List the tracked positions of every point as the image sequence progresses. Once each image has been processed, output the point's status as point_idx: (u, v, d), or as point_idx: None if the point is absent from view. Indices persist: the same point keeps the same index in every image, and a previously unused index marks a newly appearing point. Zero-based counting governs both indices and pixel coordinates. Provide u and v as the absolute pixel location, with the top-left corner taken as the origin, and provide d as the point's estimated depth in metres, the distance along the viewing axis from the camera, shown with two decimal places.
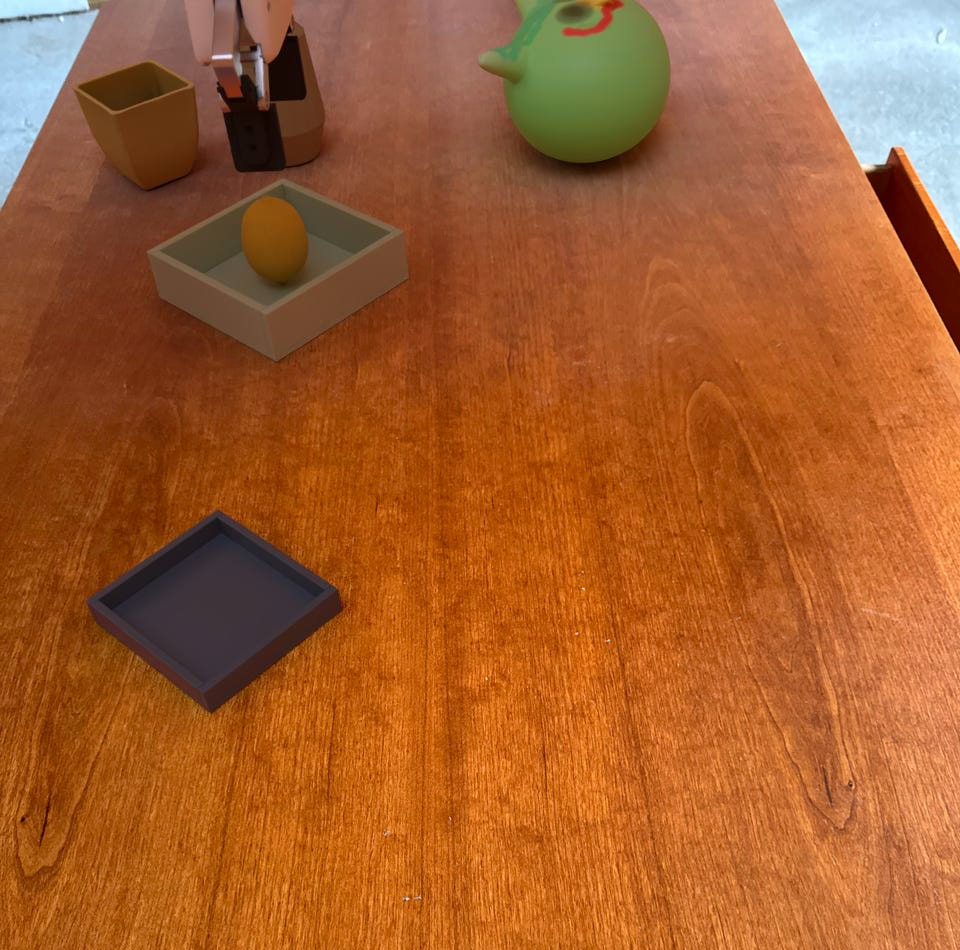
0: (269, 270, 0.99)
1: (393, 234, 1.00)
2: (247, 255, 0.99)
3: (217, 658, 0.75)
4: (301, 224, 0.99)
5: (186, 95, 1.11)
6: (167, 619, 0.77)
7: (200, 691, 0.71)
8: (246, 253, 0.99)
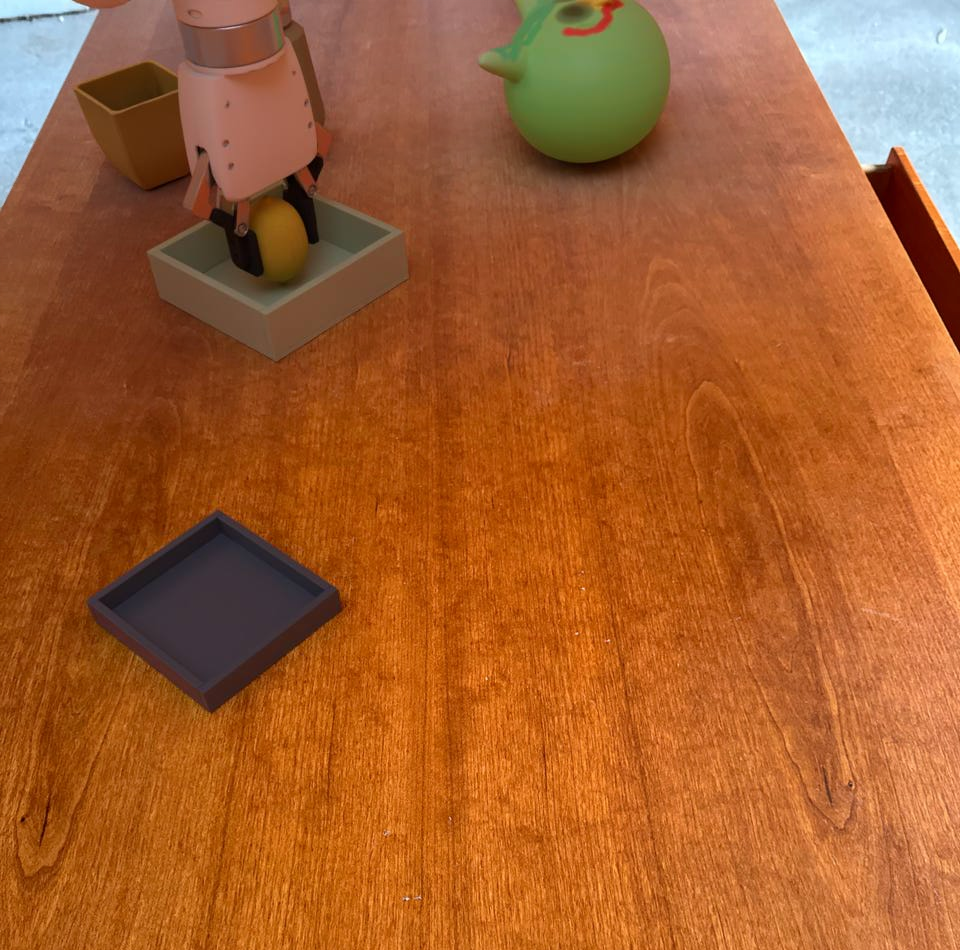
0: (269, 270, 0.99)
1: (393, 234, 1.00)
2: None
3: (217, 658, 0.75)
4: (301, 224, 0.99)
5: None
6: (167, 619, 0.77)
7: (200, 691, 0.71)
8: None
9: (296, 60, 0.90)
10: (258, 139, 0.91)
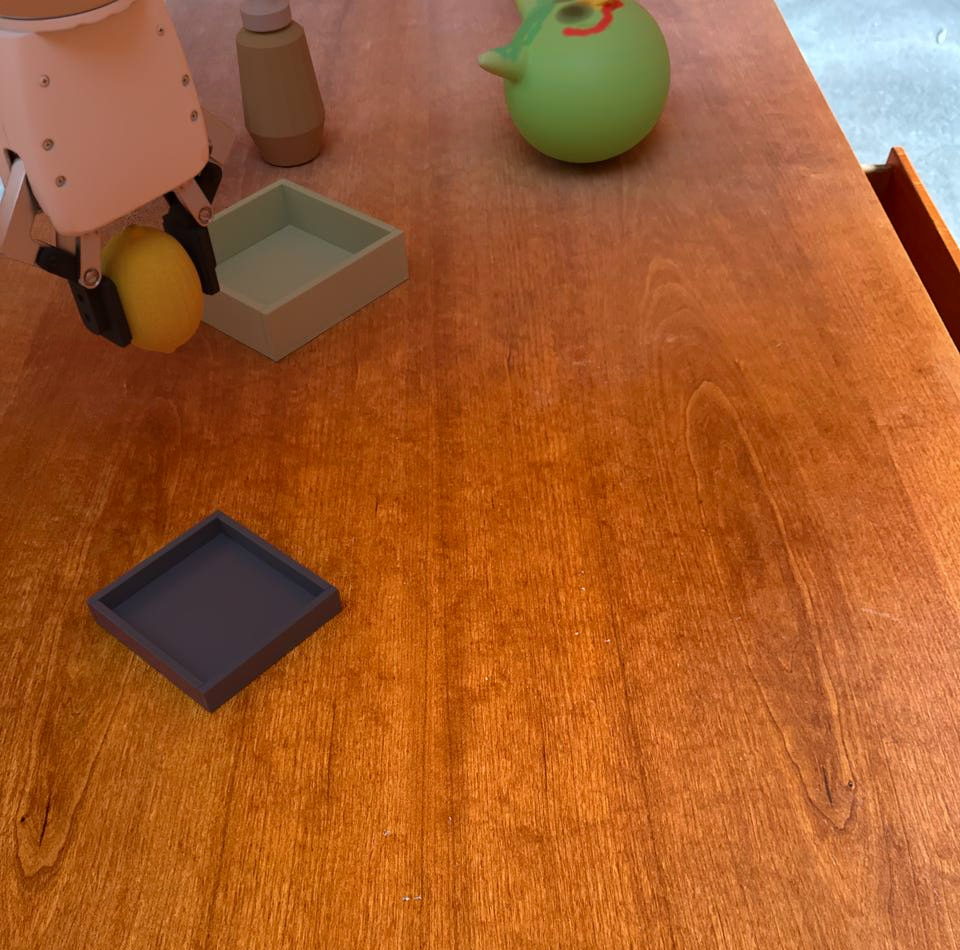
0: (142, 337, 0.65)
1: (393, 234, 1.00)
2: None
3: (217, 658, 0.75)
4: (189, 267, 0.65)
5: None
6: (167, 619, 0.77)
7: (200, 691, 0.71)
8: None
9: (164, 11, 0.57)
10: (105, 138, 0.57)
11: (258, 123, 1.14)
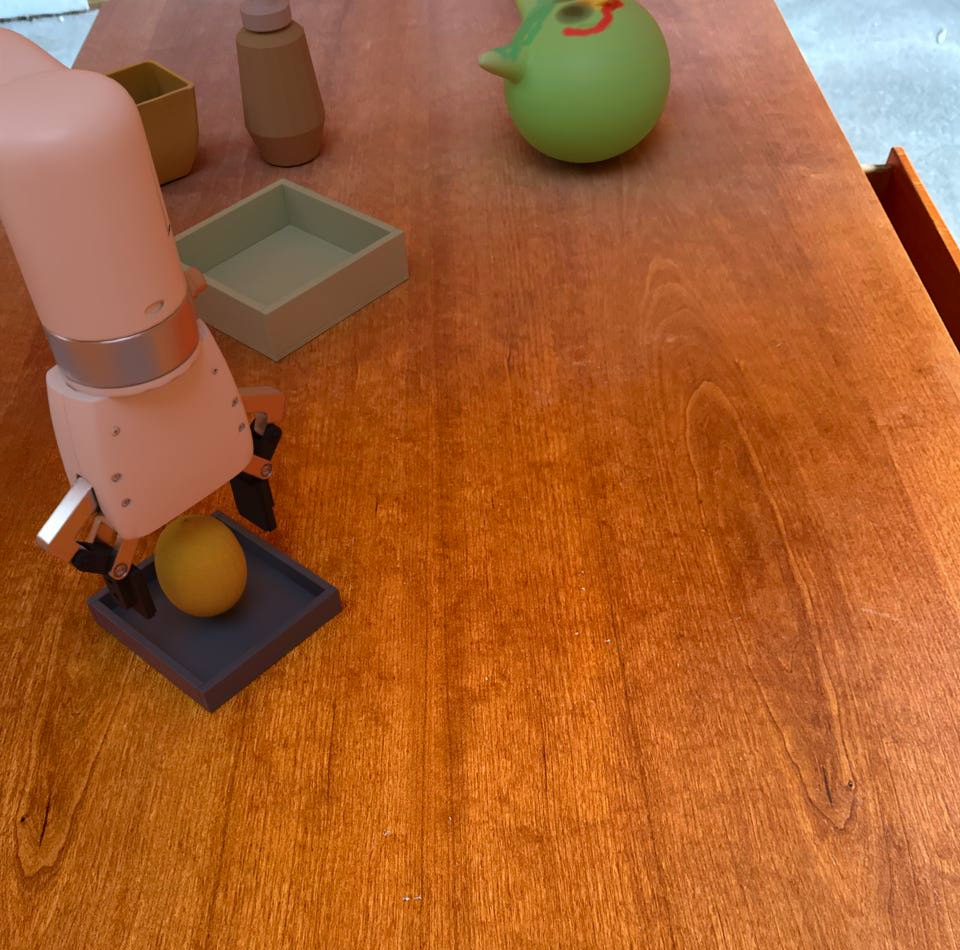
0: (193, 610, 0.74)
1: (393, 234, 1.00)
2: (163, 590, 0.74)
3: (217, 658, 0.75)
4: (236, 550, 0.73)
5: (186, 95, 1.11)
6: (167, 619, 0.77)
7: (200, 691, 0.71)
8: (162, 587, 0.74)
9: (218, 354, 0.64)
10: (165, 463, 0.65)
11: (258, 123, 1.14)
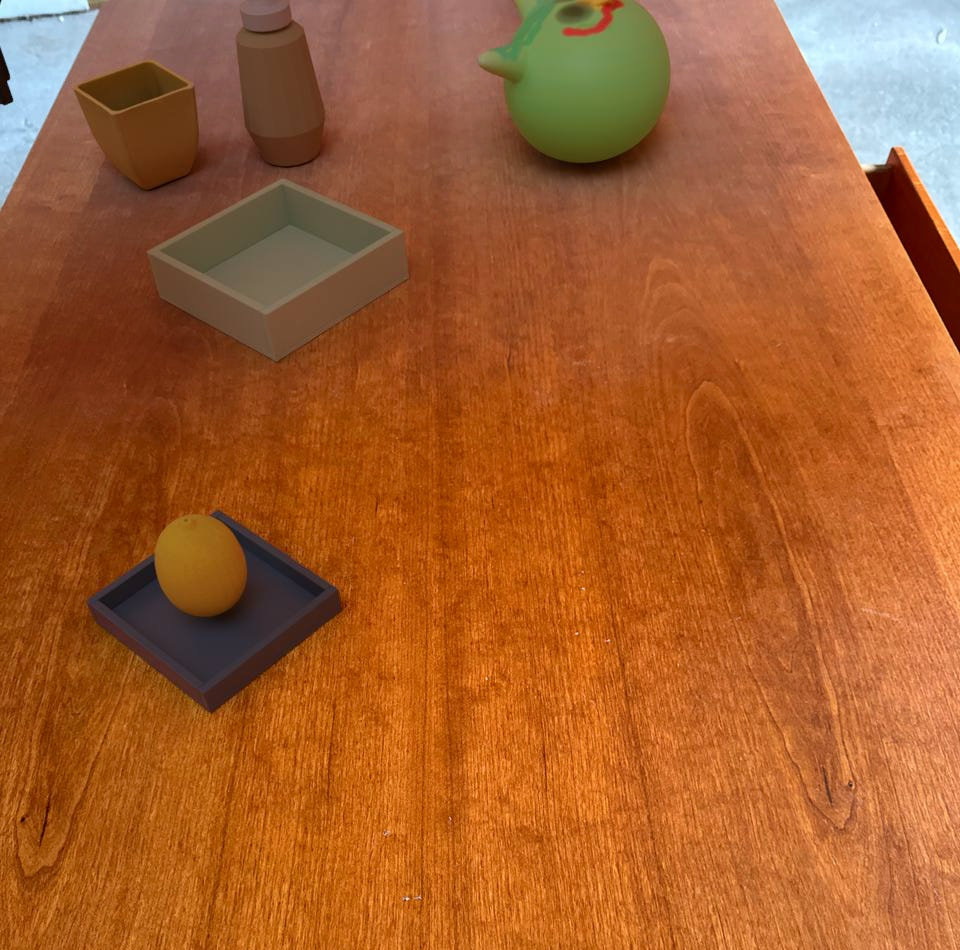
0: (193, 610, 0.74)
1: (393, 234, 1.00)
2: (163, 590, 0.74)
3: (217, 658, 0.75)
4: (236, 550, 0.73)
5: (186, 95, 1.11)
6: (167, 619, 0.77)
7: (200, 691, 0.71)
8: (162, 587, 0.74)
9: None
10: None
11: (258, 123, 1.14)
